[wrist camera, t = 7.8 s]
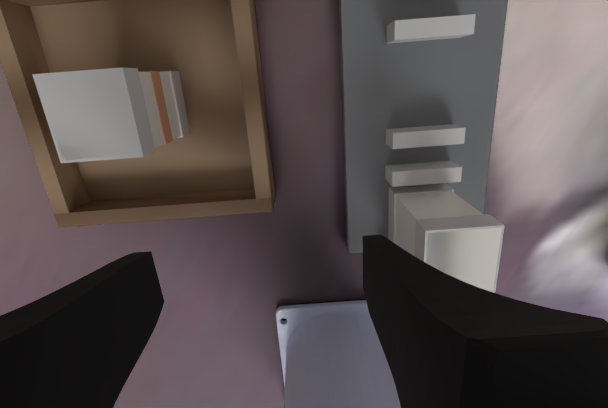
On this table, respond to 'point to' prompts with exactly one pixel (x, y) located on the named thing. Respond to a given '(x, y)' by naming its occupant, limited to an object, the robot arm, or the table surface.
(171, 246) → the table surface
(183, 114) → the block
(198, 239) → the table surface
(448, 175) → the fuse holder
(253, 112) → the tray
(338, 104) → the table surface
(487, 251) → the block
